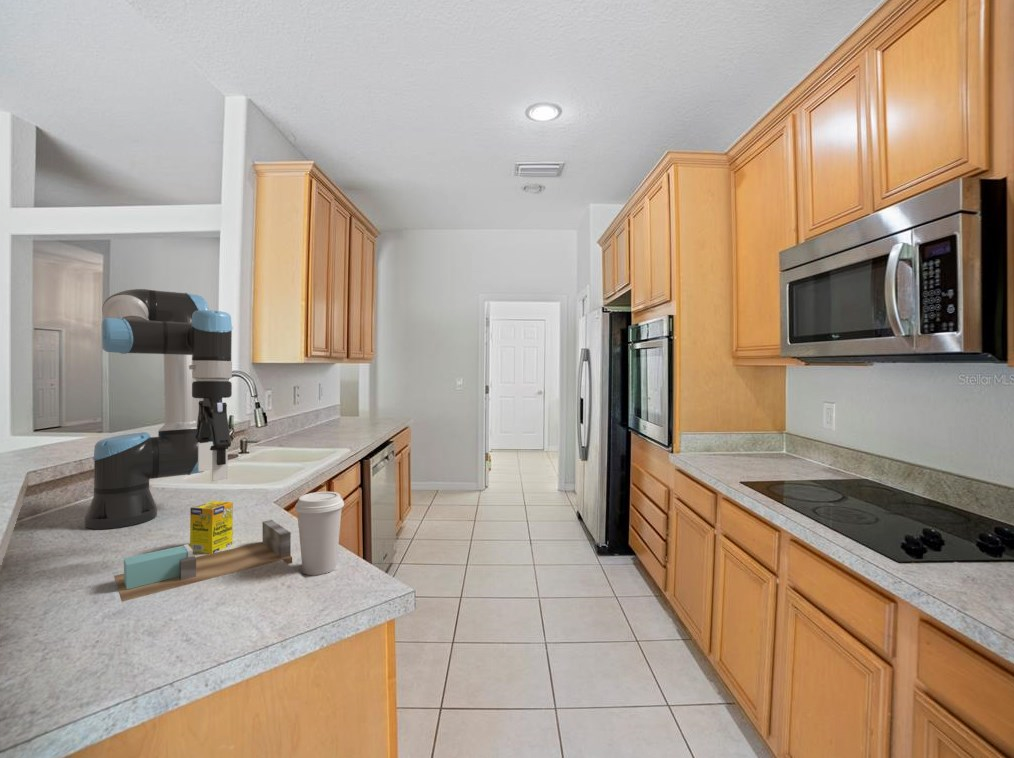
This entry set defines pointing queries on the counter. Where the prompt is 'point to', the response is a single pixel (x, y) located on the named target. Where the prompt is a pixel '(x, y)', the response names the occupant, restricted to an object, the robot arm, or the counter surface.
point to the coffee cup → (319, 530)
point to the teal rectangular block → (154, 566)
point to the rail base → (220, 562)
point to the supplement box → (211, 526)
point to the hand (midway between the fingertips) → (212, 475)
